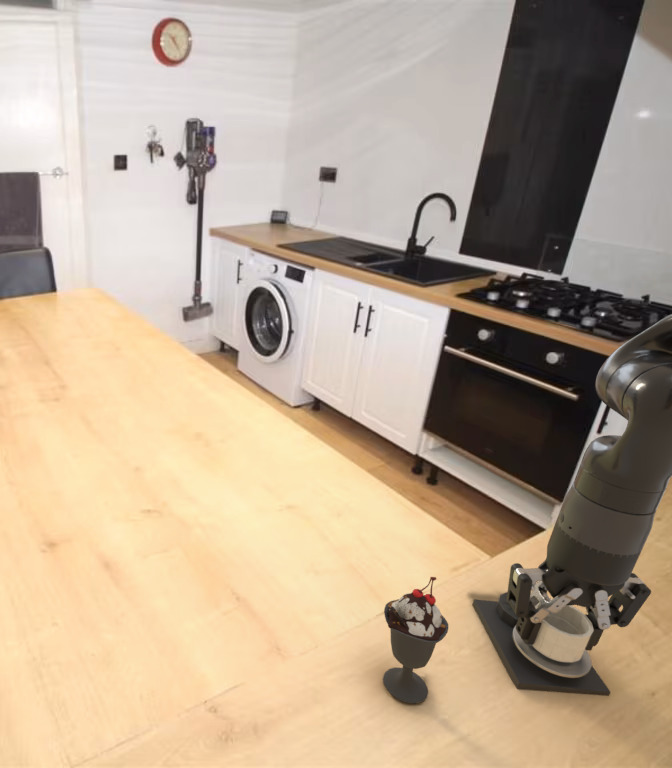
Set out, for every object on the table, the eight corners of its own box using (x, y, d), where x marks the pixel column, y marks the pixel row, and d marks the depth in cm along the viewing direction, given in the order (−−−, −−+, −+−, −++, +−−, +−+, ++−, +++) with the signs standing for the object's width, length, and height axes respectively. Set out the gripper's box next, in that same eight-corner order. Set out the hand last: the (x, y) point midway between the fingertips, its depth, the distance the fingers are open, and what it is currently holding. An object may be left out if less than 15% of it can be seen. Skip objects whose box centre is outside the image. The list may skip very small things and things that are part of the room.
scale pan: (566, 625, 69) (567, 623, 69) (606, 681, 62) (607, 679, 62) (500, 619, 70) (501, 617, 70) (532, 674, 63) (533, 671, 63)
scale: (545, 611, 75) (552, 595, 74) (607, 700, 63) (615, 682, 62) (470, 604, 76) (475, 588, 75) (516, 690, 64) (523, 673, 63)
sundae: (438, 675, 66) (457, 574, 61) (432, 720, 60) (452, 612, 55) (380, 654, 69) (394, 556, 64) (370, 694, 63) (384, 591, 58)
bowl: (563, 627, 68) (575, 600, 66) (591, 667, 63) (605, 639, 61) (514, 623, 69) (524, 596, 67) (538, 662, 63) (550, 634, 62)
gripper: (547, 546, 56) (505, 662, 63) (699, 558, 55) (639, 675, 61) (512, 503, 63) (477, 611, 70) (646, 513, 61) (597, 623, 68)
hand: (553, 641), depth 65 cm, fingers closed on bowl, 6 cm apart
